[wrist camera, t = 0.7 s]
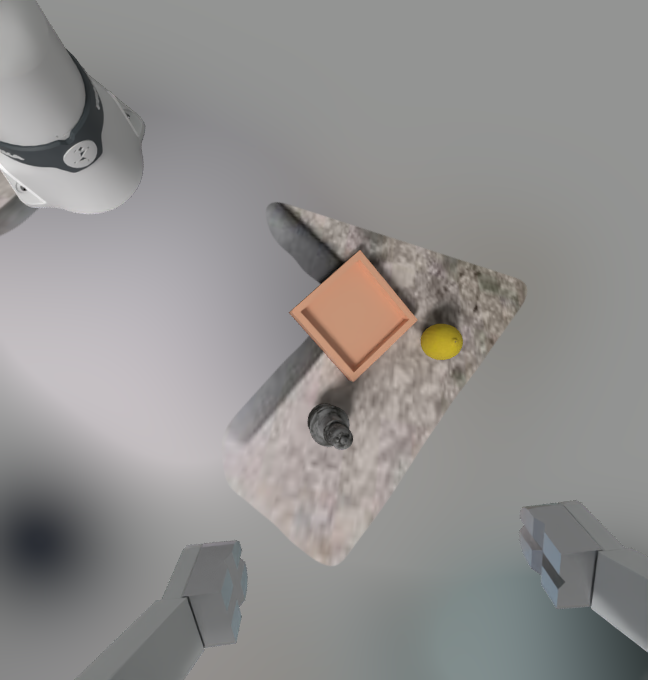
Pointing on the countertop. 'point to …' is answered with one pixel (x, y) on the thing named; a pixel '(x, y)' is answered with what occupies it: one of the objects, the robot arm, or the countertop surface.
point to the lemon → (441, 341)
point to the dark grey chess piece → (330, 426)
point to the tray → (354, 316)
